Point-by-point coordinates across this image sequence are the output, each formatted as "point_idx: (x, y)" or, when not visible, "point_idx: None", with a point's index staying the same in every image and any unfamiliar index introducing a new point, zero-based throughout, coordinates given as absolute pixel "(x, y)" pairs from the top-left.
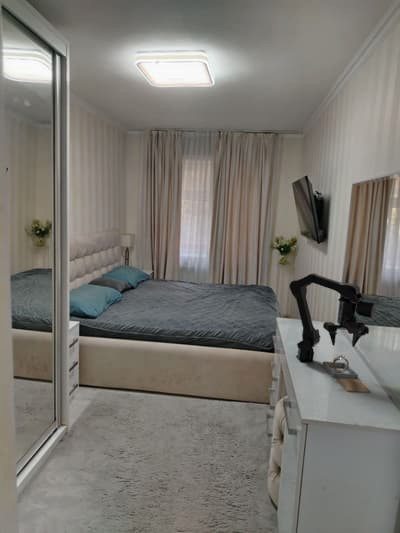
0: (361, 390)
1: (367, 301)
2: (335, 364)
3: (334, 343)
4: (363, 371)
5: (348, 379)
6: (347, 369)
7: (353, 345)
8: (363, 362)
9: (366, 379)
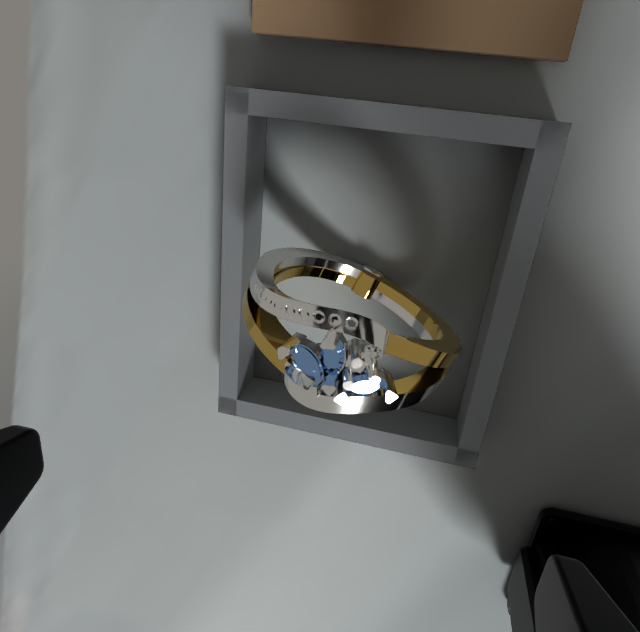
0: None
1: None
2: None
3: (588, 614)
4: (88, 273)
5: (395, 33)
6: None
7: (8, 447)
8: None
9: (138, 80)
